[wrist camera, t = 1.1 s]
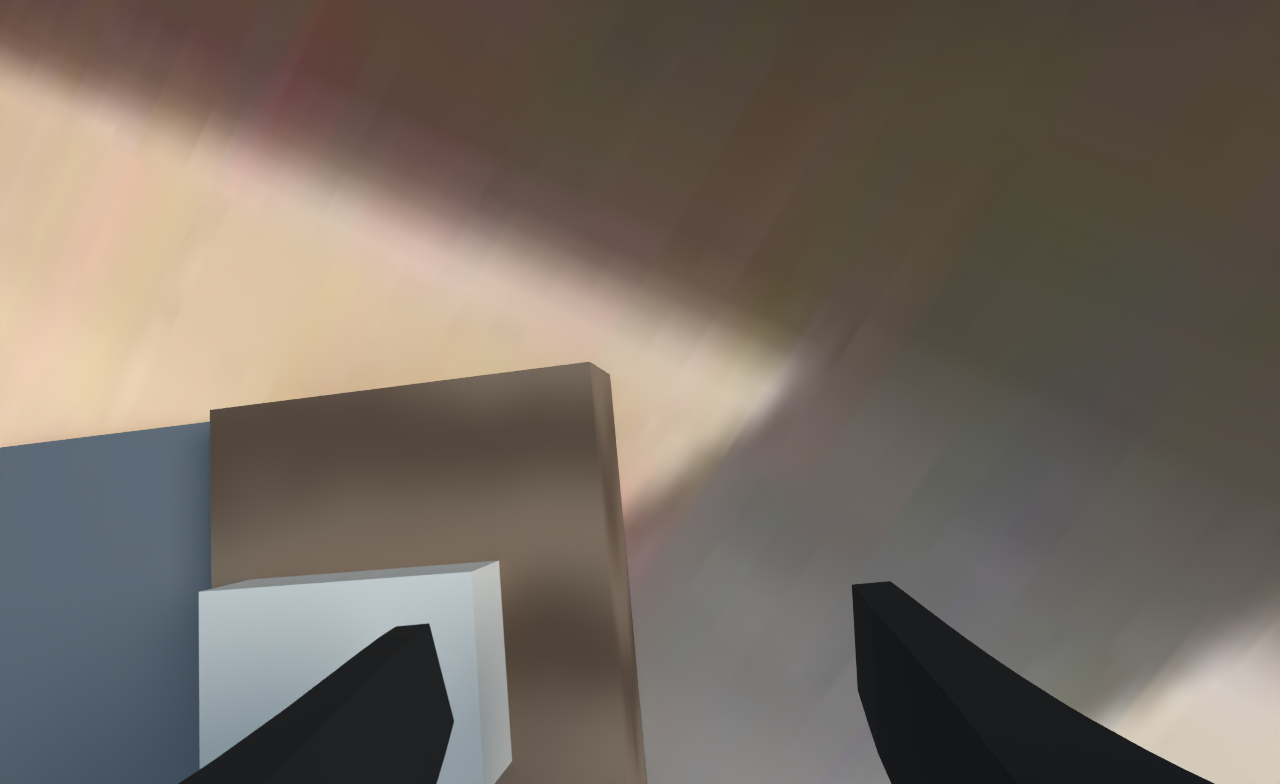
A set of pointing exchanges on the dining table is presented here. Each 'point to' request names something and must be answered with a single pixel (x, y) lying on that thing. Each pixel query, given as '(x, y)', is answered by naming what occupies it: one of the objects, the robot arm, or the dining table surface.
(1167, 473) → the dining table surface
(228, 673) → the pale grey flat block
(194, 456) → the mat
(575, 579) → the deck
